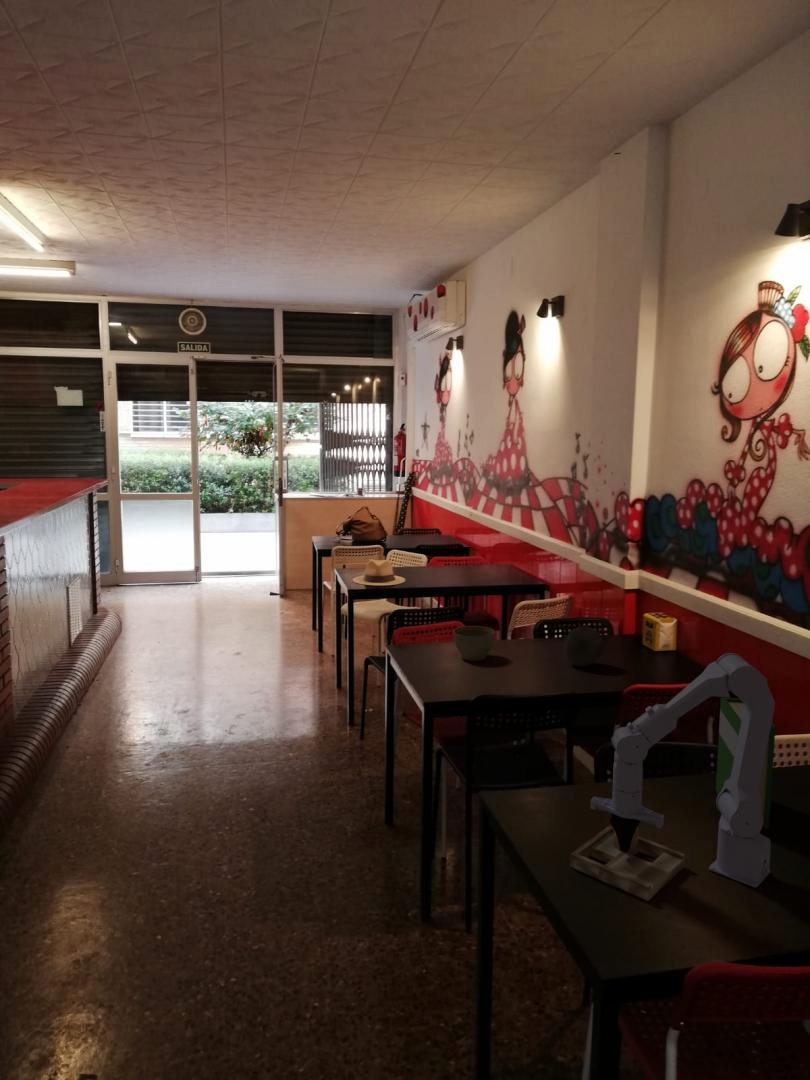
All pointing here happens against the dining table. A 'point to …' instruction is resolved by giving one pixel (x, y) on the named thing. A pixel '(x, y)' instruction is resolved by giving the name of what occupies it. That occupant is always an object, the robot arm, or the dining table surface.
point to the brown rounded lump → (633, 843)
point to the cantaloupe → (583, 646)
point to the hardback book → (727, 746)
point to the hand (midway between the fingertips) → (624, 849)
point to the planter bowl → (473, 641)
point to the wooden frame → (628, 864)
